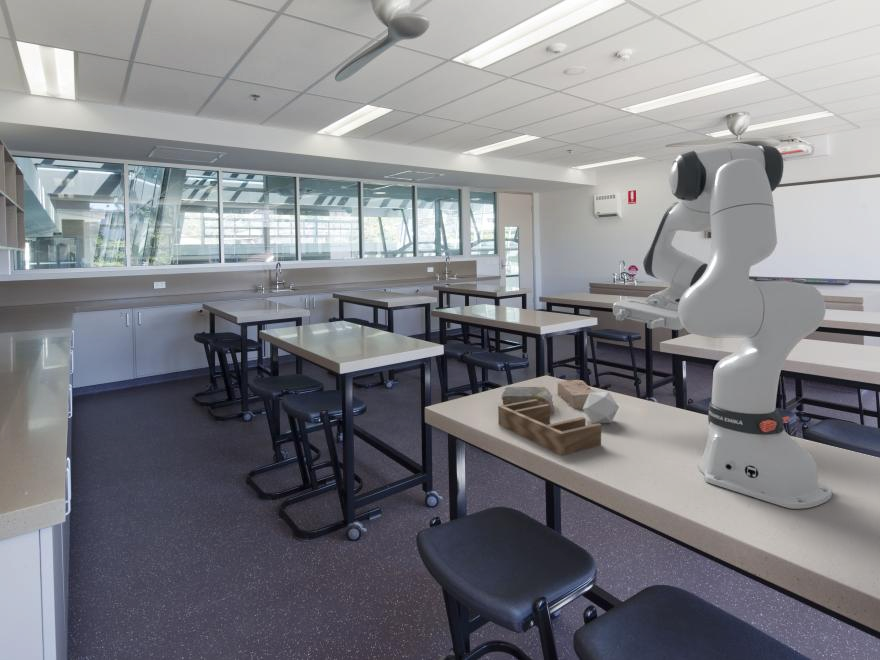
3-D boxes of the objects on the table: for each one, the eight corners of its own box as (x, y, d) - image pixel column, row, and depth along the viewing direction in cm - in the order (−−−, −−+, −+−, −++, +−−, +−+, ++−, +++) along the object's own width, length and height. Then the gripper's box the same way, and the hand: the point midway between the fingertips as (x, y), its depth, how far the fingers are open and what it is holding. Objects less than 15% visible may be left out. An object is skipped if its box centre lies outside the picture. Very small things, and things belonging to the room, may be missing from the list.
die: (612, 431, 133) (628, 398, 134) (582, 414, 134) (598, 382, 135) (602, 432, 141) (617, 401, 142) (573, 416, 142) (589, 385, 143)
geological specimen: (501, 386, 158) (551, 384, 156) (502, 405, 159) (552, 404, 157) (500, 395, 148) (554, 393, 146) (502, 415, 148) (555, 414, 146)
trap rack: (600, 444, 122) (601, 424, 121) (561, 455, 116) (561, 434, 116) (534, 416, 144) (534, 399, 143) (498, 424, 138) (498, 406, 137)
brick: (601, 408, 151) (601, 392, 150) (573, 409, 150) (573, 394, 149) (581, 393, 167) (582, 379, 166) (556, 394, 166) (556, 380, 166)
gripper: (628, 290, 154) (600, 303, 146) (696, 304, 139) (669, 318, 131) (628, 310, 156) (600, 323, 149) (695, 325, 141) (667, 341, 133)
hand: (633, 321), depth 140 cm, fingers open, 8 cm apart
